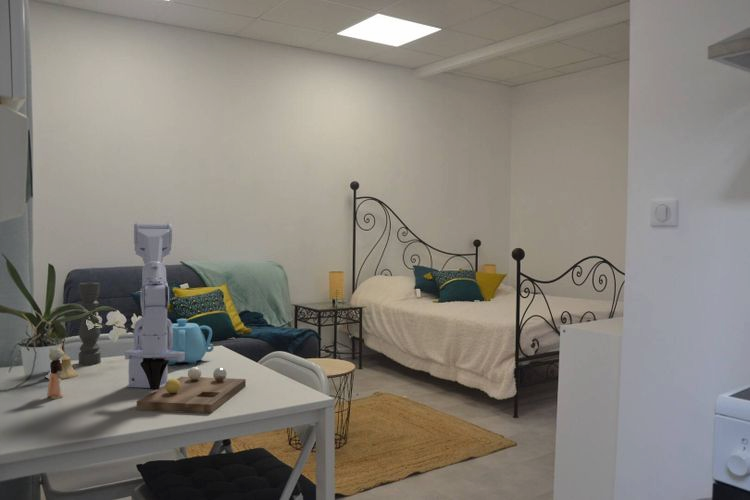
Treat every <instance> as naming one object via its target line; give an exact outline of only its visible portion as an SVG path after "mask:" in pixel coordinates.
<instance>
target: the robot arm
mask: <svg viewBox="0 0 750 500" xmlns="http://www.w3.org/2000/svg"><path fill="white" fill-rule="evenodd" d="M172 244H173V225H172V224H171V223H170V222H165V223H162V222H159V223H158V222H155V223H154V222H153V223H152V222H150V223H149V222H145V223H144V222H135V223H134V224H133V245H134V251H135V255H137V256H139V257H140V258H142V261H143V266H142V271H141V272H142V274H141V277H142V278H141V279H142V280H141V284H142V285H141V287H140V308H141V318H139V319H138V320H137V321H136V322H135V323H134V330H133V349H128V350H126V351H124V359H125V360H128V384H127V385H126V387H127V388H145V389H150V391H156V390H158V389H160V388H162V387H164V386H165V384H166V382H167V381H168V380H170V379H171V378H170V379H168V376H169V375H168V374H169V372H168V366H169V365H168V363H169V360H177V361H183V360H185V352H178V351H171V348H172V347H173V329H172V324H173V322H172V321H171V319H169V318H168V308H169V306H170V287H169V285H168V281H167V267H166V266H165V265H164V264H163V260H164V258H165V257H167V256H169V255H170V253H171V250H172ZM166 305H167V306H166ZM168 349H169V350H168Z"/></svg>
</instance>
